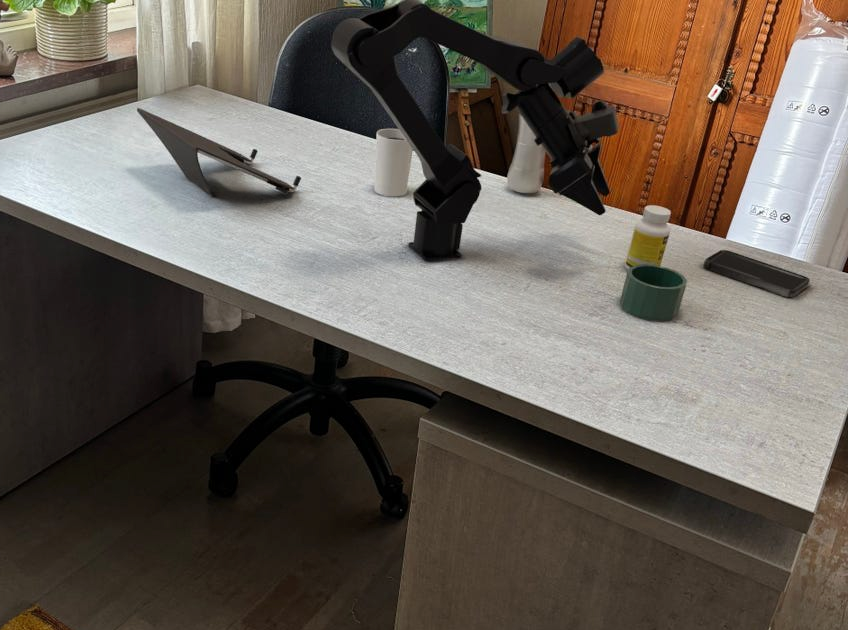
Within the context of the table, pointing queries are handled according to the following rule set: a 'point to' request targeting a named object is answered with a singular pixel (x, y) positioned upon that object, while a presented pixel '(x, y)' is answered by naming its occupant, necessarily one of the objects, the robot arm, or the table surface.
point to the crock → (653, 292)
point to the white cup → (392, 163)
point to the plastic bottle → (526, 162)
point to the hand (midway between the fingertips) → (605, 203)
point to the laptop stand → (205, 153)
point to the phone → (757, 273)
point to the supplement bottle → (649, 237)
